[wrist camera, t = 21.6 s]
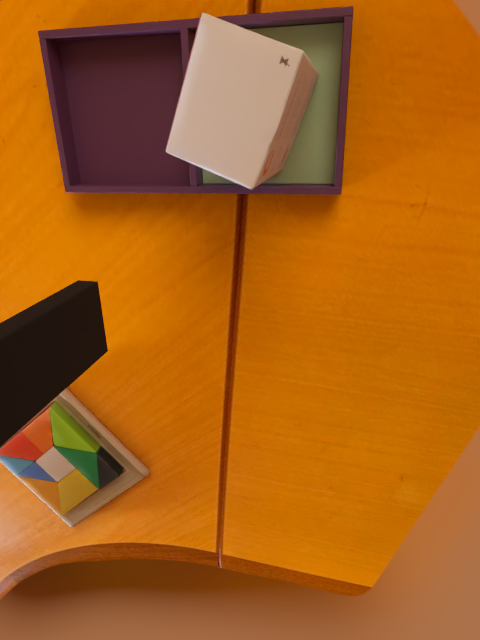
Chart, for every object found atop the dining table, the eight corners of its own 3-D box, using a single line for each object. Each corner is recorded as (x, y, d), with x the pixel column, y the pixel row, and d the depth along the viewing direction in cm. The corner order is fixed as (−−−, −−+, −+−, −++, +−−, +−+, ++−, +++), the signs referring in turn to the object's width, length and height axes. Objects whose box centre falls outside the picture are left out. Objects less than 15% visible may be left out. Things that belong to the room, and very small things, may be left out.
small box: (248, 44, 36) (200, 6, 25) (321, 73, 36) (307, 49, 24) (217, 144, 40) (162, 153, 28) (282, 171, 40) (255, 192, 28)
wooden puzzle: (157, 466, 58) (146, 486, 55) (74, 520, 66) (60, 540, 63) (59, 370, 55) (42, 385, 52) (-15, 438, 63) (-34, 454, 60)
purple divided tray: (55, 36, 40) (37, 30, 38) (352, 13, 35) (353, 6, 32) (79, 189, 45) (65, 192, 43) (341, 190, 40) (341, 194, 38)
